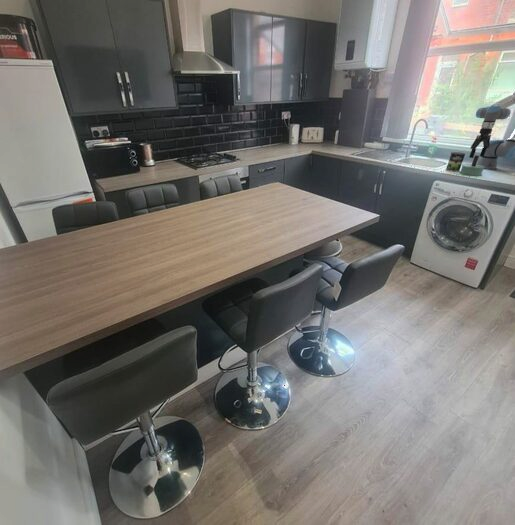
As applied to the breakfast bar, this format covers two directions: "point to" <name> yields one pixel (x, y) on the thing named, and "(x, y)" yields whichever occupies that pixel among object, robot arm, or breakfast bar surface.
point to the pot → (471, 171)
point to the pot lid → (474, 163)
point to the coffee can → (455, 161)
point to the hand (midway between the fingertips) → (476, 157)
